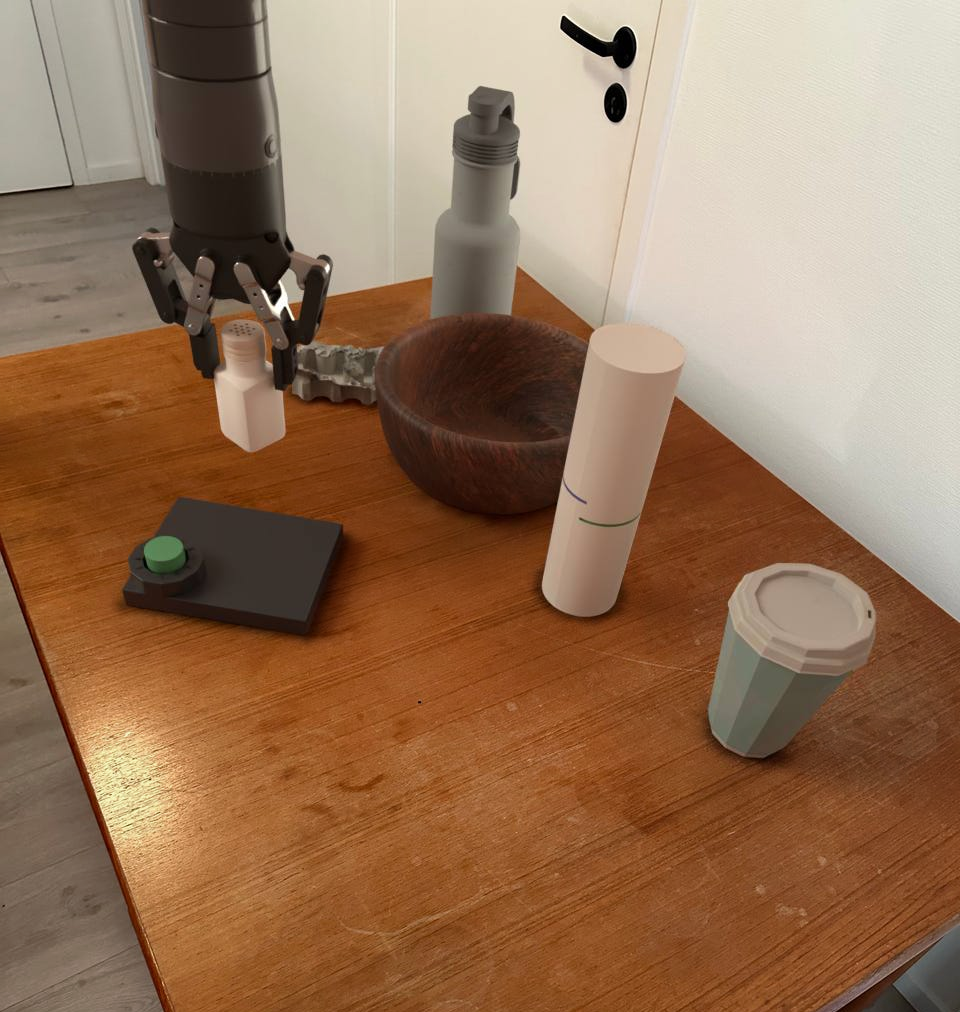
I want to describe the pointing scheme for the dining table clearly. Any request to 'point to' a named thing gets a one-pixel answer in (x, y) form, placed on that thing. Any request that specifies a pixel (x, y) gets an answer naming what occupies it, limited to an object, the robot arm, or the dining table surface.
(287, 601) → the dark grey flat block
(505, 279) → the water bottle
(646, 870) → the dining table surface
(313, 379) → the egg carton
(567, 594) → the cylindrical container
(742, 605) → the disposable coffee cup
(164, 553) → the button
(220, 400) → the pepper shaker
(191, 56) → the robot arm
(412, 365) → the wooden bowl
